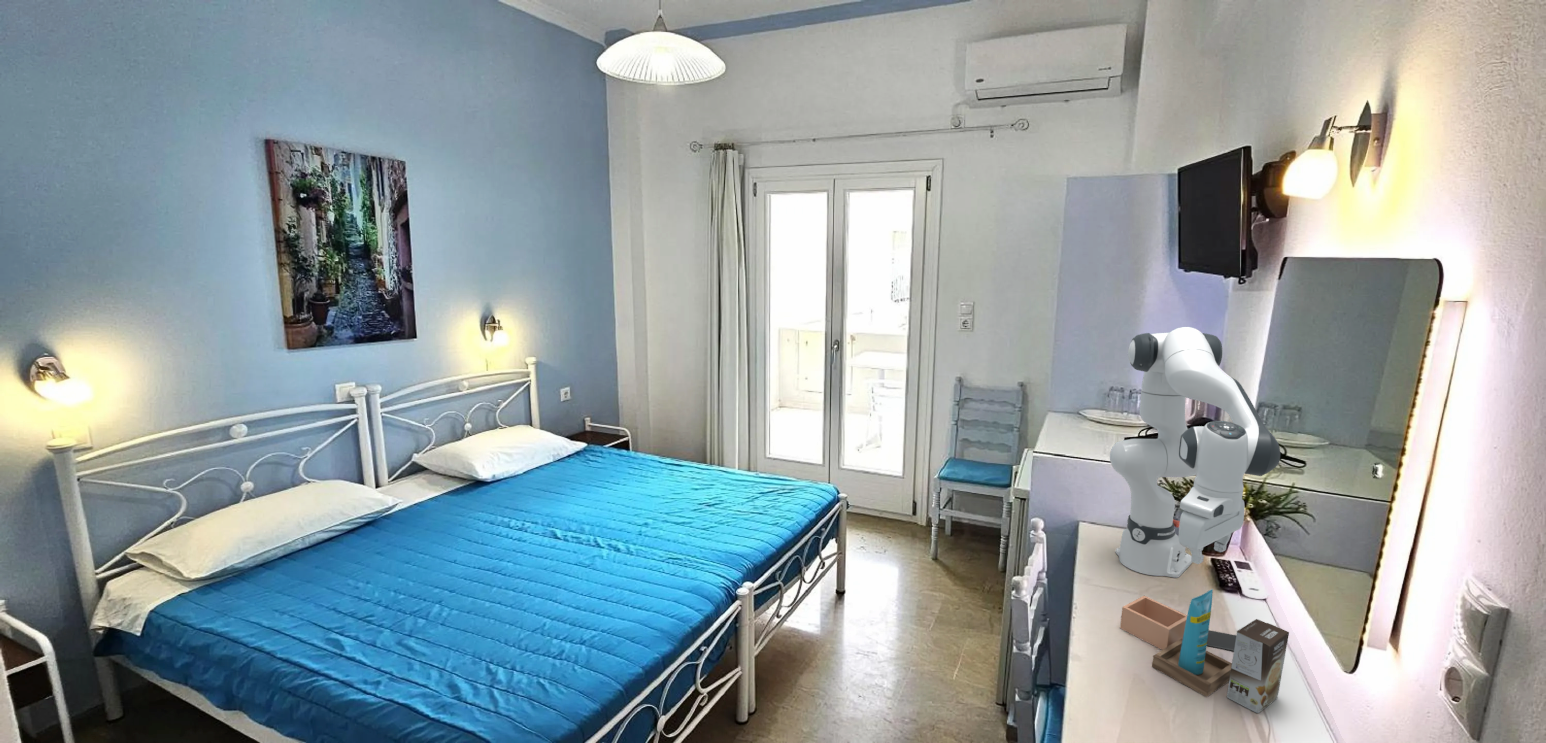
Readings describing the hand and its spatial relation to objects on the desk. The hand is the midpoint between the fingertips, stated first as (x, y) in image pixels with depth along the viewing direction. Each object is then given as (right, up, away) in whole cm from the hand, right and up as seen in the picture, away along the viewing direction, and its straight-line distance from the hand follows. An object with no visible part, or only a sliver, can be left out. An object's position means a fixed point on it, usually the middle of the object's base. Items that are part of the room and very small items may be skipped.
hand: (1208, 556), depth 148 cm
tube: (0, -27, +6) cm, 28 cm away
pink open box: (0, -25, +21) cm, 32 cm away
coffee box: (+8, -30, -2) cm, 31 cm away
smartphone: (+15, -26, +17) cm, 35 cm away
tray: (0, -28, +6) cm, 29 cm away
